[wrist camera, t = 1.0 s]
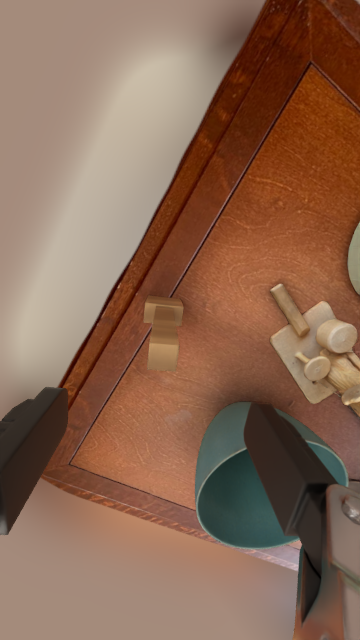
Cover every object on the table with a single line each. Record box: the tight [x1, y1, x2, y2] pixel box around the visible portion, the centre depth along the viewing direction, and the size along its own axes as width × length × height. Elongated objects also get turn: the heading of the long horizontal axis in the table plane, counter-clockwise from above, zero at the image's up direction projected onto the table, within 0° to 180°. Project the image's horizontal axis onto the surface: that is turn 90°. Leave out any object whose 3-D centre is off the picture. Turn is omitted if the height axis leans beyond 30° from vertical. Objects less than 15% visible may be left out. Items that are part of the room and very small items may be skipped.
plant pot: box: [195, 401, 349, 549], centre depth 30 cm, size 18×18×12 cm
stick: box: [143, 295, 184, 372], centre depth 22 cm, size 2×4×16 cm, turn 82°
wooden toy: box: [270, 284, 360, 414], centre depth 26 cm, size 22×10×14 cm, turn 35°
